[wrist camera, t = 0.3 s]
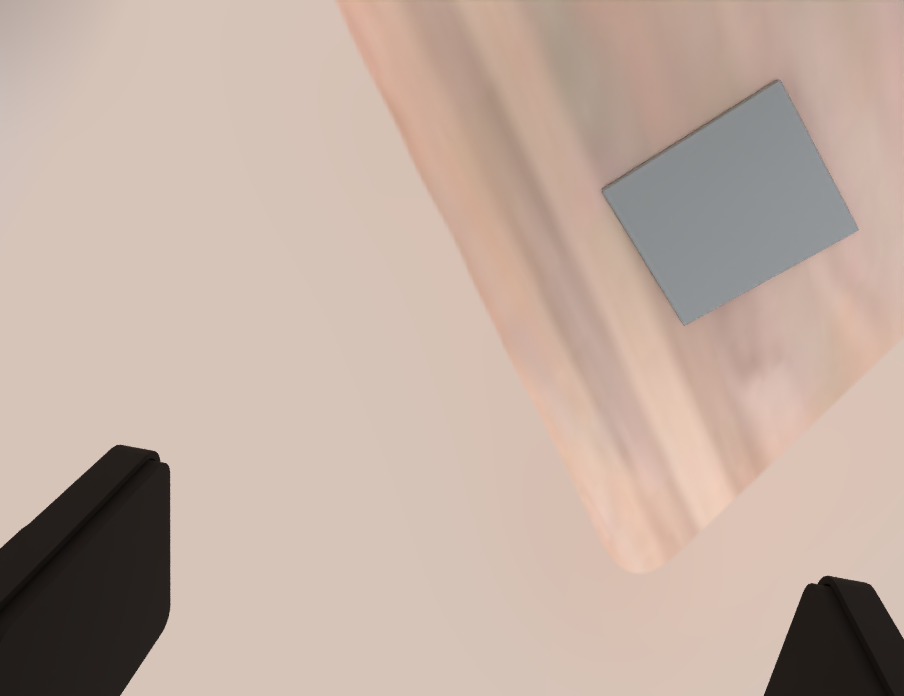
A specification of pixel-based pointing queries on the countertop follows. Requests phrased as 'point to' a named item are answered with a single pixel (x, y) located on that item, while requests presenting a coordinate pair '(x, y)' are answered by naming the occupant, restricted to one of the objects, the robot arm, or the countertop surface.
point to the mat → (731, 204)
